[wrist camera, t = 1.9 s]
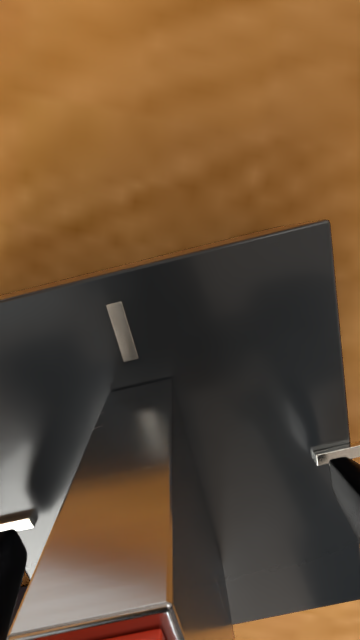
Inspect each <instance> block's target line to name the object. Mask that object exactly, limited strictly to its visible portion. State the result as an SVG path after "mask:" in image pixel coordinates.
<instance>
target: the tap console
mask: <svg viewBox="0 0 360 640" xmlns="http://www.w3.org/2000/svg"><path fill="white" fill-rule="evenodd" d="M166 379H171V380H172V381H173V385H174V388H175V392H176V396H177V400H178V403H179V407H180V411H181V414H182V418H183V422H184V425H185V429H186V433H187V436H188V440H189V444H190V447H191V451H192V455H193V458H194V462H195V466H196V469H197V473H198V477H199V481H200V484H201V488H202V492H203V495H204V499H205V503H206V506H207V510H208V514H209V517H210V521H211V525H212V528H213V532H214V536H215V539H216V543H217V547H218V550H219V554H220V558H221V562H222V565H223V569H224V575H225V582H226V588H227V594H228V601H229V607H230V613H231V619H232V625H234V624H239V623H244V622H249V621H254V620H259V619H264V618H269V617H274V616H279V615H284V614H289V613H294V612H299V611H304V610H309V609H314V608H319V607H324V606H329V605H334V604H339V603H344V602H349V601H354V600H359V599H360V543H359V541H358V539H357V538H356V536H355V534H354V532H353V530H352V528H351V526H350V524H349V522H348V520H347V518H346V516H345V514H344V512H343V511H342V509H341V507H340V505H339V503H338V501H337V499H336V497H335V495H334V493H333V490H332V486H331V479H330V471H329V461H330V460H331V459H334V458H339V457H348V458H350V459H351V460H352V458H357V457H360V441H359V442H354V443H350V433H349V422H348V411H347V401H346V390H345V379H344V368H343V357H342V346H341V335H340V324H339V313H338V303H337V292H336V281H335V270H334V259H333V248H332V237H331V226H330V222H329V220H318V221H312V222H305V223H299V224H293V225H286V226H280V227H275V228H271V229H267V230H263V231H259V232H255V233H251V234H247V235H243V236H239V237H234V238H230V239H226V240H222V241H218V242H214V243H210V244H206V245H202V246H198V247H194V248H190V249H186V250H182V251H178V252H174V253H170V254H166V255H162V256H157V257H153V258H149V259H145V260H141V261H137V262H133V263H129V264H125V265H121V266H117V267H113V268H109V269H105V270H101V271H97V272H93V273H89V274H85V275H80V276H76V277H72V278H68V279H64V280H60V281H56V282H52V283H48V284H44V285H40V286H36V287H32V288H28V289H24V290H20V291H16V292H12V293H8V294H3V295H0V531H4V530H9V529H15V530H16V531H17V532H18V534H19V536H20V538H21V540H22V542H23V544H24V546H25V548H26V550H27V563H26V567H25V572H26V573H27V575H28V577H29V579H30V580H31V578H32V575H33V573H34V570H35V568H36V566H37V563H38V561H39V558H40V556H41V554H42V551H43V549H44V546H45V544H46V542H47V539H48V537H49V535H50V532H51V530H52V527H53V525H54V523H55V520H56V518H57V515H58V513H59V511H60V508H61V506H62V503H63V501H64V499H65V496H66V494H67V492H68V489H69V487H70V484H71V482H72V480H73V477H74V475H75V472H76V470H77V468H78V465H79V463H80V461H81V458H82V456H83V453H84V451H85V449H86V446H87V444H88V441H89V439H90V437H91V434H92V432H93V429H94V427H95V425H96V422H97V420H98V418H99V415H100V413H101V410H102V408H103V406H104V403H105V401H106V398H107V396H108V394H109V393H110V392H114V391H119V390H123V389H127V388H132V387H136V386H140V385H145V384H149V383H153V382H158V381H162V380H166Z"/></svg>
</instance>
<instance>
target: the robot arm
mask: <svg viewBox="0 0 360 640" xmlns="http://www.w3.org/2000/svg"><path fill="white" fill-rule="evenodd" d="M329 471H330V479H331V486H332V490H333V493H334V495H335V497H336V499H337V501H338V503H339V505H340V507H341V509H342V511H343V512H344V514H345V516H346V518H347V520H348V522H349V524H350V526H351V528H352V530H353V532H354V534H355V536H356V538H357V539H358V541H359V543H360V464H358V463H356V462H355V461H353V460H351V459H350V458H348V457H339V458H334V459H331V460H330V461H329ZM26 563H27V550H26V548H25V546H24V544H23V542H22V540H21V538H20V536H19V534H18V532H17V531H16V530H15V529H9V530H4V531H0V640H6V638H7V634H8V631H9V627H10V624H11V620H12V616H13V612H14V609H15V605H16V601H17V597H18V593H19V590H20V586H21V582H22V578H23V575H24V571H25V567H26Z"/></svg>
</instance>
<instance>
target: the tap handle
mask: <svg viewBox="0 0 360 640" xmlns="http://www.w3.org/2000/svg"><path fill="white" fill-rule="evenodd" d="M7 640H235V638H234V632H233V626H232V619H231V613H230V607H229V601H228V594H227V588H226V582H225V575H224V569H223V565H222V562H221V558H220V554H219V550H218V547H217V543H216V539H215V536H214V532H213V528H212V525H211V521H210V517H209V514H208V510H207V506H206V503H205V499H204V495H203V492H202V488H201V484H200V481H199V477H198V473H197V469H196V466H195V462H194V458H193V455H192V451H191V447H190V444H189V440H188V436H187V433H186V429H185V425H184V422H183V418H182V414H181V411H180V407H179V403H178V400H177V396H176V392H175V388H174V385H173V381H172V380H171V379H166V380H162V381H158V382H153V383H149V384H145V385H140V386H136V387H132V388H127V389H123V390H119V391H114V392H110V393H109V394H108V396H107V398H106V401H105V403H104V406H103V408H102V410H101V413H100V415H99V418H98V420H97V422H96V425H95V427H94V429H93V432H92V434H91V437H90V439H89V441H88V444H87V446H86V449H85V451H84V453H83V456H82V458H81V461H80V463H79V465H78V468H77V470H76V472H75V475H74V477H73V480H72V482H71V484H70V487H69V489H68V492H67V494H66V496H65V499H64V501H63V503H62V506H61V508H60V511H59V513H58V515H57V518H56V520H55V523H54V525H53V527H52V530H51V532H50V535H49V537H48V539H47V542H46V544H45V546H44V549H43V551H42V554H41V556H40V558H39V561H38V563H37V566H36V568H35V570H34V573H33V575H32V578H31V580H30V582H29V585H28V587H27V589H26V592H25V594H24V597H23V599H22V601H21V604H20V606H19V609H18V611H17V613H16V616H15V618H14V621H13V623H12V625H11V628H10V630H9V632H8V636H7Z"/></svg>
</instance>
